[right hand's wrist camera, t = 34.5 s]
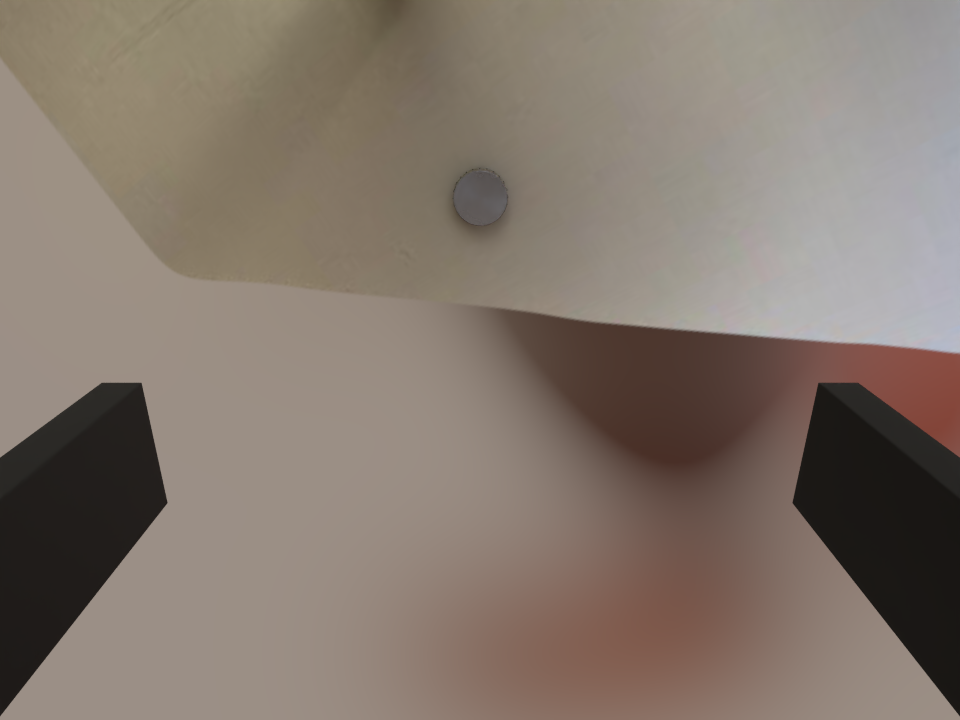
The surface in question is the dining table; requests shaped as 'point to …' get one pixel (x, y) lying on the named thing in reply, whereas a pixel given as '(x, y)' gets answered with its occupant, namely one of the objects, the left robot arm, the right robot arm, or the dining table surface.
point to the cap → (480, 197)
